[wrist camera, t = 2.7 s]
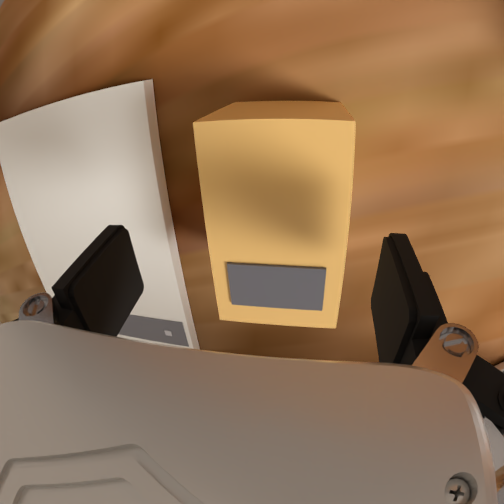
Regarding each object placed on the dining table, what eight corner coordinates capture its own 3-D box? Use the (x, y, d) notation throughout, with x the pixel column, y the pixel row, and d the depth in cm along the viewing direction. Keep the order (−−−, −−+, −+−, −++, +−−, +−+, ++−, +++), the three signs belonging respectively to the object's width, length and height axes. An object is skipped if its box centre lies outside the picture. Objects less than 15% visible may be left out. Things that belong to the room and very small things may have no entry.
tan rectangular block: (340, 102, 16) (355, 122, 10) (333, 253, 21) (335, 330, 16) (234, 102, 17) (191, 122, 11) (245, 249, 23) (219, 321, 17)
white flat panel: (152, 79, 17) (142, 80, 16) (207, 378, 32) (204, 388, 31) (1, 121, 20) (-9, 125, 19) (86, 352, 35) (81, 359, 34)
